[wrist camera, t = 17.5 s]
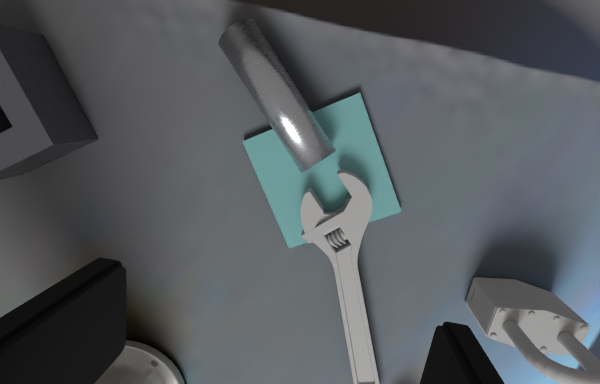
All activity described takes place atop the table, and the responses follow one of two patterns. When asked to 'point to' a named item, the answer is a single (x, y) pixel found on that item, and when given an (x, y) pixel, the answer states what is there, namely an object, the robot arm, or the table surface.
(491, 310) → the padlock
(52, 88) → the block
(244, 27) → the metal cylinder
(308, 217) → the adjustable wrench
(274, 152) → the mat
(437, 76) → the table surface
